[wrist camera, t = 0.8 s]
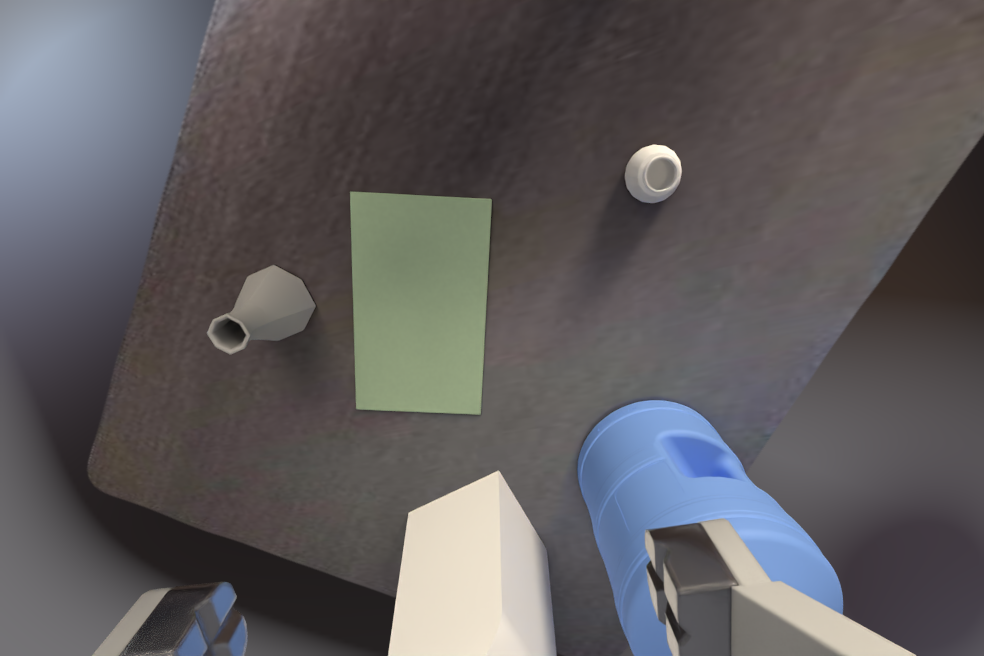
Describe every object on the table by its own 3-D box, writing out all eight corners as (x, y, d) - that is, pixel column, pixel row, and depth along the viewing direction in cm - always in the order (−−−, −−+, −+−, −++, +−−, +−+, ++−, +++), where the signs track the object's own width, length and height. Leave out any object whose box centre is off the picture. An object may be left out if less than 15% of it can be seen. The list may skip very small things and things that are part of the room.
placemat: (350, 191, 47) (349, 191, 46) (491, 199, 47) (491, 199, 47) (356, 407, 53) (356, 409, 53) (480, 413, 54) (480, 414, 53)
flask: (273, 250, 48) (222, 271, 39) (329, 305, 50) (293, 338, 40) (224, 299, 50) (162, 331, 40) (280, 351, 51) (234, 393, 42)
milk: (546, 549, 59) (591, 825, 34) (460, 587, 61) (442, 878, 36) (498, 470, 56) (509, 712, 31) (408, 512, 57) (350, 775, 32)
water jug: (621, 543, 59) (734, 854, 32) (548, 445, 55) (608, 707, 28) (742, 476, 56) (973, 753, 30) (675, 369, 52) (872, 576, 26)
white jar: (682, 193, 47) (673, 138, 46) (694, 195, 44) (685, 136, 43) (629, 208, 48) (618, 154, 46) (638, 211, 45) (627, 153, 43)
